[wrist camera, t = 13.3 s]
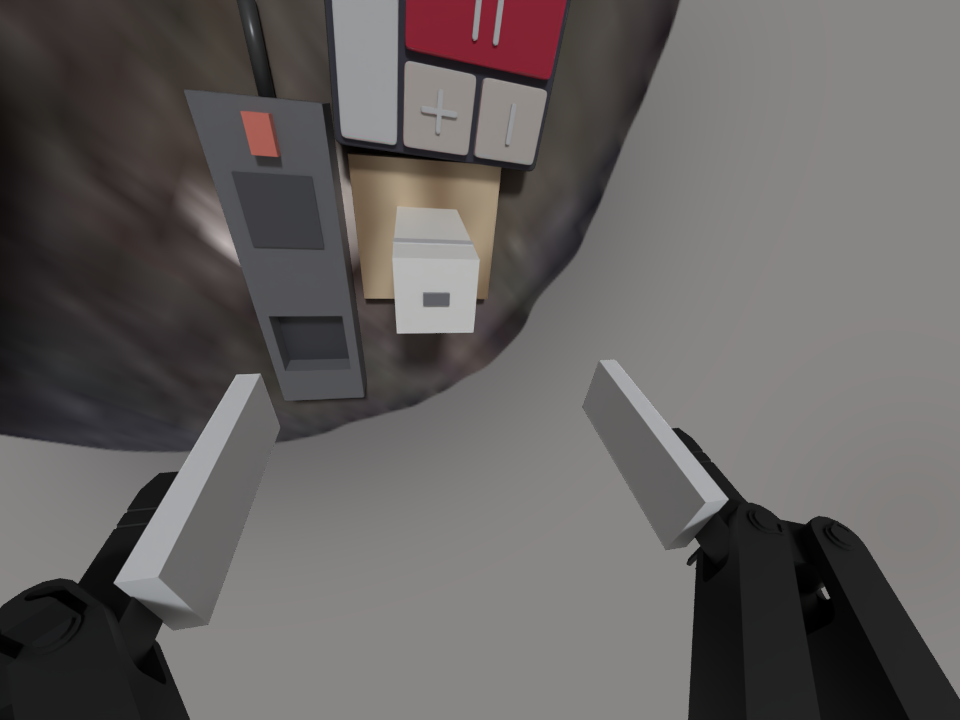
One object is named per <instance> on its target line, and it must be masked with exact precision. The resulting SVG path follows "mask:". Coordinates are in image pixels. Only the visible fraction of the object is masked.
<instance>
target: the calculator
mask: <svg viewBox="0 0 960 720" xmlns="http://www.w3.org/2000/svg"><path fill="white" fill-rule="evenodd" d="M570 1H571V0H324V4H325V17H326V30H327V43H328V56H329V69H330V82H331V95H332V108H333V121H334V133H335V139H336V140H337V142H338V143H340V144H343V145H349V146H356V147H363V148H369V149H376V150H383V151H390V152H397V153H404V154H411V155H418V156H425V157H432V158H439V159H446V160H453V161H460V162H466V163H473V164H480V165H487V166H494V167H501V168H508V169H515V170H522V171H532V170H533V169H534V168H535V165H536V161H537V156H538V151H539V147H540V142H541V137H542V133H543V128H544V123H545V118H546V114H547V109H548V104H549V100H550V95H551V90H552V86H553V81H554V76H555V71H556V67H557V62H558V57H559V53H560V48H561V43H562V39H563V34H564V29H565V24H566V20H567V15H568V10H569V6H570Z"/></svg>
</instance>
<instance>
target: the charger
mask: <svg viewBox="0 0 960 720" xmlns="http://www.w3.org/2000/svg"><path fill="white" fill-rule="evenodd" d="M392 262H393V278H394V294H395V311H396V327H397V334H398V333H472V332H473V331H474V319H475V308H476V297H477V285H478V274H479V263H480V259H479V257H478V255H477V253H476V251H475V248H474V244H473V242H472V241H471V240H470V237H469V235H468V233H467V231H466V229H465V227H464V224H463V222H462V220H461V218H460V216H459V213H458V211H457V210H455V209H436V208H417V207H398V206H397V213H396V224H395V234H394V238H393V255H392Z"/></svg>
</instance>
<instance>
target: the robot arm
mask: <svg viewBox="0 0 960 720" xmlns="http://www.w3.org/2000/svg"><path fill="white" fill-rule="evenodd" d="M583 409H584V411H585V412H586V414H587V416H588V418H589V419H590V421H591V423H592V424H593V426H594V428H595V430H596V431H597V433H598V435H599V436H600V438H601V440H602V442H603V443H604V445H605V447H606V448H607V450H608V452H609V454H610V455H611V457H612V459H613V460H614V462H615V464H616V466H617V467H618V469H619V471H620V472H621V474H622V476H623V478H624V479H625V481H626V483H627V484H628V486H629V488H630V490H631V491H632V493H633V495H634V496H635V498H636V500H637V501H638V503H639V505H640V507H641V509H642V510H643V512H644V514H645V515H646V517H647V519H648V520H649V522H650V524H651V526H652V527H653V529H654V531H655V533H656V534H657V536H658V538H659V539H660V541H661V543H662V545H663V546H664V548H665V550H670V549H676V548H682V547H686V546H687V545H688V544H689V543H690V542H691V541H692V540H693V539H694V538H696V540H697V541H698V543H699V544H700V547H699V548H698V549H697V550H696V551H695V552H694V554H692V555H691V557H690V558H689V559H688V561H687V565H689V566H691V565H692V564H693V562H695V561H696V560H697V562H696V568H695V569H696V580H695V599H694V620H693V638H692V657H691V676H690V695H689V715H688V720H960V699H959V697H958V696H957V694H956V692H955V691H954V689H953V687H952V686H951V684H950V683H949V681H948V679H947V678H946V676H945V674H944V673H943V671H942V670H941V668H940V667H939V665H938V663H937V661H936V660H935V658H934V656H933V655H932V653H931V652H930V650H929V648H928V647H927V645H926V644H925V642H924V640H923V639H922V637H921V635H920V634H919V632H918V630H917V629H916V627H915V626H914V624H913V622H912V621H911V619H910V618H909V616H908V614H907V613H906V611H905V609H904V608H903V606H902V604H901V603H900V601H899V600H898V598H897V596H896V595H895V593H894V592H893V590H892V588H891V586H890V585H889V583H888V582H887V580H886V578H885V577H884V575H883V573H882V572H881V570H880V569H879V567H878V565H877V564H876V562H875V560H874V559H873V557H872V556H871V554H870V552H869V551H868V549H867V547H866V546H865V544H864V543H863V542H862V541H861V540H860V538H859V537H858V536H857V535H856V534H855V533H854V532H852V531H851V530H850V529H849V528H847V527H846V526H844V525H842V524H841V523H839V522H838V521H835V520H833V519H830V518H828V517H821V516H818V517H815V518H813V519H811V520H810V521H809V522H808V523H807V524H800V523H795V522H790V521H785V520H780V519H779V518H778V517H777V516H775V515H774V514H773V513H772V512H771V511H769V510H767V509H766V508H764V507H762V506H760V505H757V504H754V503H748V502H747V501H746V500H745V499H744V498H743V497H742V496H741V495H740V494H739V492H738V491H737V490H736V489H735V488H734V487H733V485H732V484H731V483H730V482H729V481H728V479H727V478H726V477H725V476H724V475H723V474H722V472H721V471H720V470H719V469H718V468H717V467H716V465H715V464H714V463H713V462H711V460H710V458H709V457H708V456H707V455H706V454H705V453H703V452H702V449H701V448H700V447H699V445H698V444H697V443H696V442H695V441H694V440H693V438H691V437H690V436H689V435H687V434H686V433H684V432H683V431H682V430H681V429H679V428H673V429H671V428H670V426H669V425H668V424H667V423H666V421H665V420H664V419H663V418H662V417H661V415H660V414H659V413H658V412H657V411H656V409H655V408H654V407H653V405H652V404H651V403H650V402H649V401H648V399H647V398H646V397H645V396H644V394H643V393H642V392H641V391H640V389H639V388H638V387H637V386H636V385H635V383H634V382H633V381H632V380H631V378H630V377H629V376H628V375H627V373H626V372H625V371H624V370H623V369H622V367H621V366H620V365H619V364H618V362H617V361H616V360H599V362H598V365H597V368H596V371H595V373H594V376H593V379H592V382H591V384H590V387H589V390H588V393H587V396H586V398H585V401H584V404H583ZM279 429H280V426H279V423H278V420H277V417H276V415H275V412H274V409H273V406H272V404H271V401H270V398H269V395H268V393H267V390H266V387H265V384H264V382H263V379H262V376H261V374H242V375H236V376H235V378H234V380H233V381H232V383H231V385H230V387H229V388H228V390H227V392H226V393H225V395H224V397H223V398H222V400H221V402H220V403H219V405H218V407H217V409H216V410H215V412H214V414H213V415H212V417H211V419H210V420H209V422H208V424H207V426H206V427H205V429H204V431H203V432H202V434H201V436H200V437H199V439H198V441H197V442H196V444H195V446H194V448H193V449H192V451H191V453H190V455H189V456H188V458H187V460H186V461H185V463H184V464H183V466H182V468H181V470H180V471H179V472H168V473H159V474H158V475H157V476H156V477H154V478H153V479H152V480H151V481H150V482H149V483H148V484H147V485H145V486H144V487H143V488H142V489H141V490H140V491H139V493H138V494H137V496H136V497H135V499H134V500H133V502H132V503H131V505H130V506H129V508H128V509H127V510H128V511H127V513H125V514H124V515H123V517H122V518H121V520H120V521H119V523H118V524H117V528H116V529H114V530H113V532H112V533H111V535H110V536H109V538H108V539H107V541H106V542H105V544H104V545H103V547H102V548H101V550H100V551H99V553H98V554H97V556H96V558H95V559H94V560H93V562H92V563H91V565H90V566H89V568H88V569H87V571H86V573H85V574H84V576H83V577H82V579H81V580H80V582H79V583H78V584H77V583H76V582H74V581H73V580H68V579H61V578H59V579H55V580H50V581H45V582H42V583H40V584H38V585H36V586H33V587H31V588H29V589H27V590H25V591H23V592H21V593H20V594H18V595H17V596H15V597H14V598H12V599H11V600H10V601H8V602H7V603H5V604H4V605H3V606H2V607H1V608H0V720H190V718H189V716H188V714H187V711H186V709H185V706H184V704H183V701H182V699H181V696H180V694H179V691H178V689H177V687H176V684H175V682H174V679H173V677H172V674H171V672H170V669H169V667H168V665H167V662H166V660H165V657H164V655H163V652H162V650H161V647H160V645H159V643H158V642H157V641H156V640H155V638H156V636H157V634H158V632H159V629H160V627H161V625H162V623H164V624H166V625H167V626H168V627H169V628H171V629H172V630H179V629H185V628H191V627H197V626H203V625H208V624H209V621H210V618H211V616H212V613H213V610H214V607H215V605H216V602H217V599H218V596H219V594H220V591H221V588H222V585H223V583H224V580H225V577H226V575H227V572H228V569H229V566H230V563H231V561H232V558H233V555H234V552H235V550H236V547H237V544H238V541H239V539H240V536H241V533H242V531H243V528H244V525H245V522H246V520H247V517H248V514H249V511H250V509H251V506H252V503H253V501H254V498H255V495H256V492H257V490H258V487H259V484H260V481H261V478H262V476H263V473H264V470H265V467H266V465H267V462H268V459H269V457H270V454H271V451H272V448H273V446H274V443H275V440H276V437H277V435H278V432H279ZM823 587H825V588H826V590H827V592H828V594H829V596H830V599H828V600H827V599H826V598H825V596H824V594H823V593H822V590H821V588H823Z"/></svg>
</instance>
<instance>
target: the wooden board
mask: <svg viewBox="0 0 960 720" xmlns="http://www.w3.org/2000/svg"><path fill="white" fill-rule="evenodd" d="M348 162H349V170H350V179H351V187H352V196H353V204H354V213H355V221H356V230H357V238H358V247H359V255H360V264H361V272H362V281H363V289H364V298H367V299H395V294H394V278H393V262H392V255H393V238H394V234H395V224H396V213H397V206H398V207H417V208H436V209H455V210H457V211H458V213H459V216H460V218H461V220H462V222H463V224H464V227H465V229H466V231H467V233H468V235H469V237H470V240H471V241H472V242H473V244H474V248H475V251H476V253H477V255H478V257H479V259H480V263H479V274H478V285H477V297H476V299H487V296H488V287H489V278H490V269H491V259H492V250H493V241H494V232H495V222H496V213H497V204H498V195H499V186H500V176H501V167H494V166H487V165H480V164H473V163H466V162H460V161H453V160H444V159H431V158H418V157H406V156H393V155H380V154H367V153H355V152H349V153H348Z"/></svg>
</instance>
